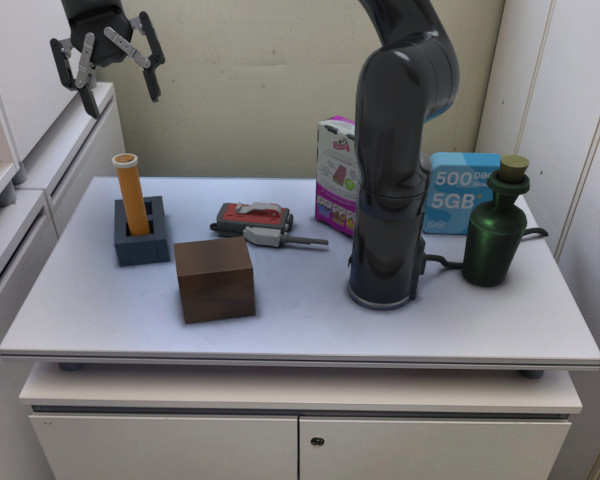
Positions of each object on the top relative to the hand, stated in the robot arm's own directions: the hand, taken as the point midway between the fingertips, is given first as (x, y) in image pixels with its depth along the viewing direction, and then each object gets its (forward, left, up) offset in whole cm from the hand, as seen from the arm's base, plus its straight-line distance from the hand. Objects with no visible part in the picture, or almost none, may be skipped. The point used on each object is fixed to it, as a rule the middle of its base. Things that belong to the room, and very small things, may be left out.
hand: (126, 109), depth 82 cm
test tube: (+1, +2, -21) cm, 21 cm away
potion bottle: (-50, +19, -21) cm, 57 cm away
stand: (-9, +18, -21) cm, 29 cm away
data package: (-51, +5, -21) cm, 55 cm away
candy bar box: (-33, +1, -21) cm, 39 cm away
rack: (+1, -1, -21) cm, 21 cm away
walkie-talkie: (-20, +2, -21) cm, 29 cm away
